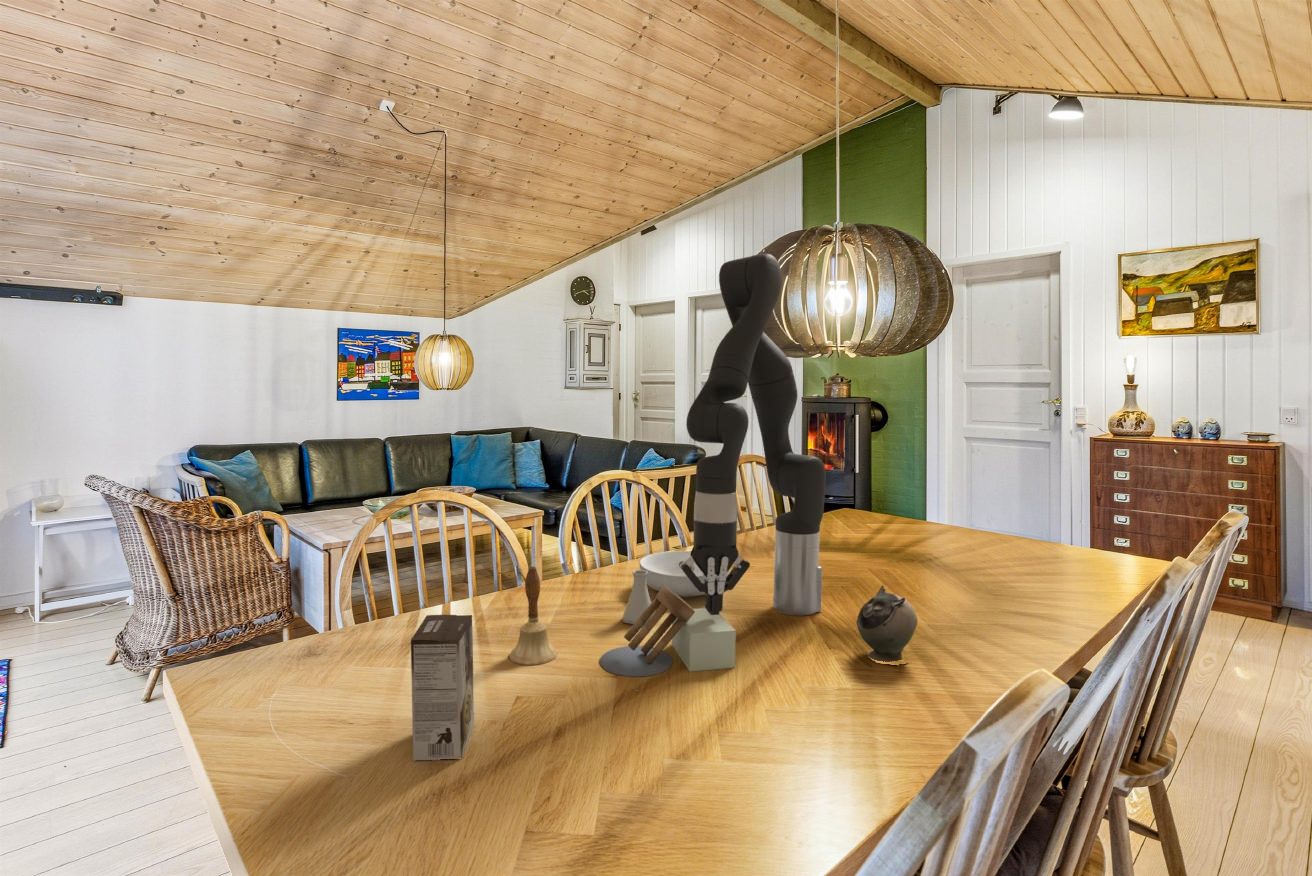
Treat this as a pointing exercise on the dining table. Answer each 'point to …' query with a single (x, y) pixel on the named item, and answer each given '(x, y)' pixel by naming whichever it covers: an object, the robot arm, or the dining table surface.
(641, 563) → the serving bowl
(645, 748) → the dining table surface
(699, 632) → the box
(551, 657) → the hand bell
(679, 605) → the stool
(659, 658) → the mat
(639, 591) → the flask
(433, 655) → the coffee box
